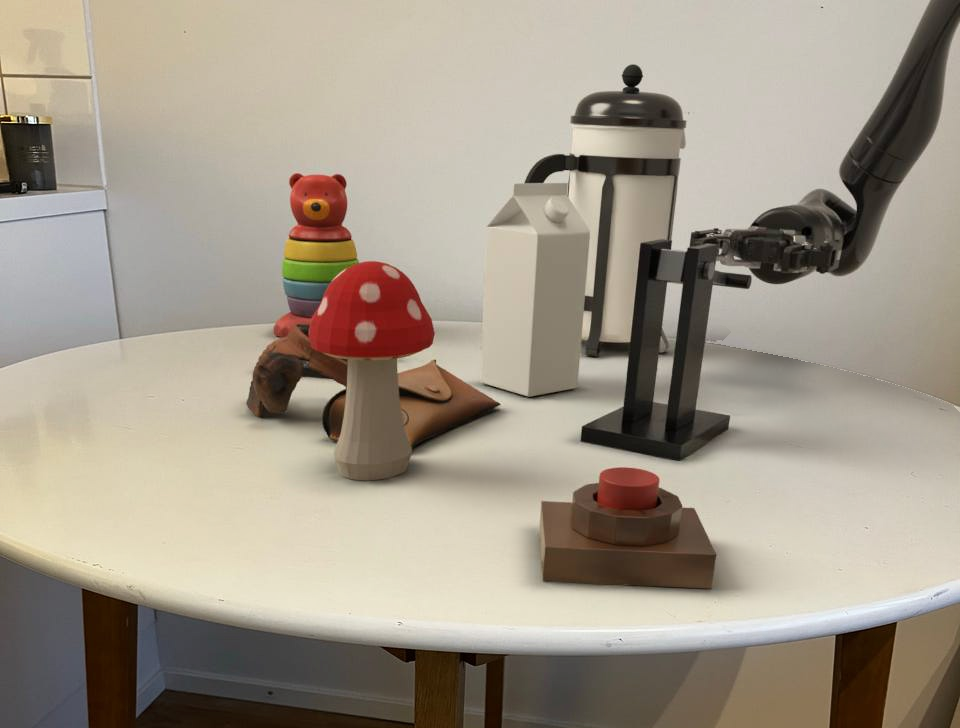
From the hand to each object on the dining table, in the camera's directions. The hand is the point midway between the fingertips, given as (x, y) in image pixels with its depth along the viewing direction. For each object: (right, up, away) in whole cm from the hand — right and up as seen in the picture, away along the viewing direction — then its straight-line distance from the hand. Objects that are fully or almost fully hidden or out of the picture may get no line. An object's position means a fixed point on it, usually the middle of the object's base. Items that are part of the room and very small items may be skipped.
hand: (741, 256), depth 96 cm
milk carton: (-20, -11, +8) cm, 24 cm away
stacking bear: (-44, +2, +29) cm, 53 cm away
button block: (-16, -31, -32) cm, 48 cm away
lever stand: (-9, -18, -7) cm, 22 cm away
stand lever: (-6, -6, -8) cm, 12 cm away
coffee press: (-10, -1, +27) cm, 29 cm away
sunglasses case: (-30, -17, -6) cm, 35 cm away
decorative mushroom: (-33, -23, -18) cm, 44 cm away
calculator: (-42, -7, +13) cm, 44 cm away
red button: (-16, -28, -34) cm, 47 cm away
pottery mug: (-41, -16, -5) cm, 44 cm away
